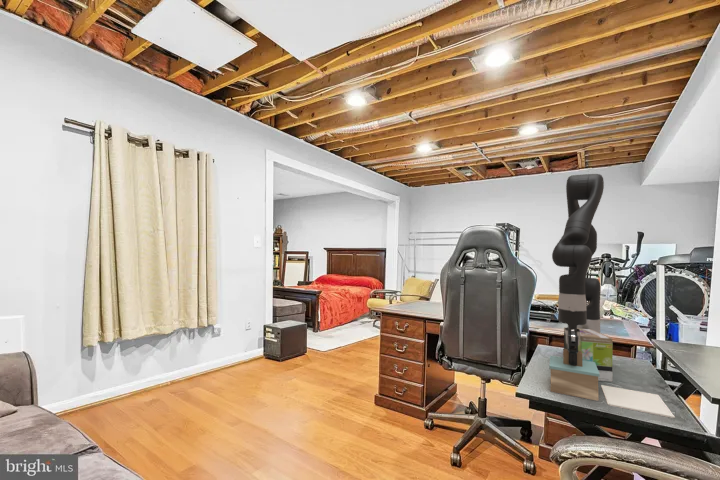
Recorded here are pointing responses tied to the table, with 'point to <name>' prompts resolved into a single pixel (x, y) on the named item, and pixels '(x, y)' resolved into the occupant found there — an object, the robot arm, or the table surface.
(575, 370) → the lid
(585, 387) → the crate
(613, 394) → the mat
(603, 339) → the tea box
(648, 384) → the table surface
